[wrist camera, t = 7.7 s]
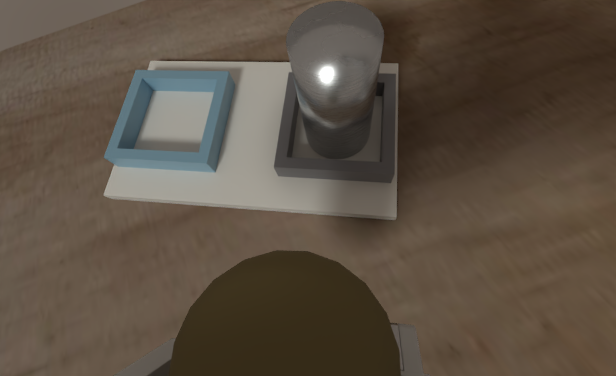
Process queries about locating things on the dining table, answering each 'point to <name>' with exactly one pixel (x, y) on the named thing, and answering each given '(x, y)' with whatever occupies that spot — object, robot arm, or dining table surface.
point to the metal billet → (336, 74)
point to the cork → (286, 323)
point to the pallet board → (245, 143)
